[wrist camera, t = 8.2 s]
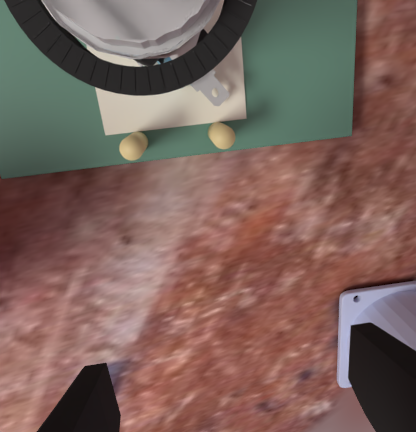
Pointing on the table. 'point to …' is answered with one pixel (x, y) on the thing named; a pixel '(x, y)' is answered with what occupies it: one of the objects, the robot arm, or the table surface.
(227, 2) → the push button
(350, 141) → the table surface
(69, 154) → the board
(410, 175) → the table surface
